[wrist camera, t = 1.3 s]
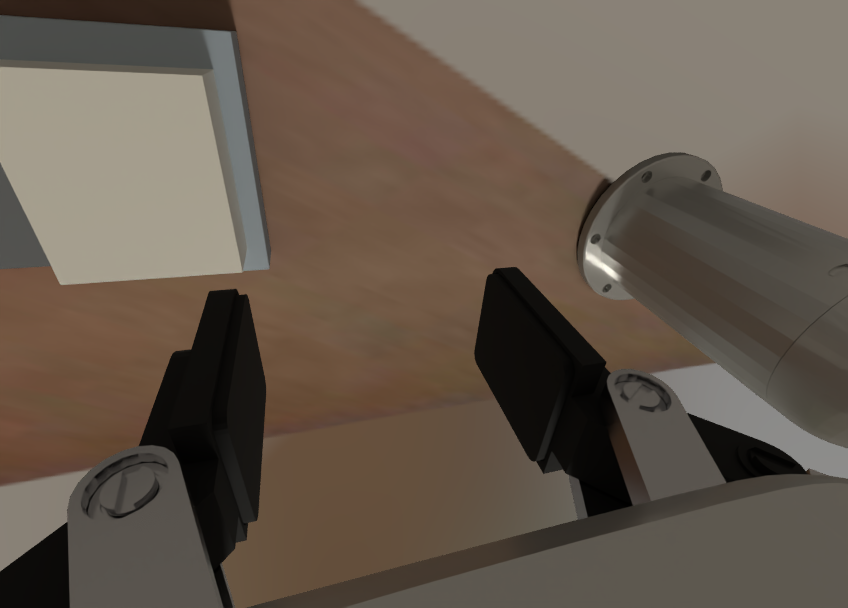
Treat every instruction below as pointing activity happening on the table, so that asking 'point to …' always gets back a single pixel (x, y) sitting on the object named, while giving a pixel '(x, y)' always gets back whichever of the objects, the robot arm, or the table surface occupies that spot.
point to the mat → (17, 232)
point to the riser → (160, 50)
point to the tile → (121, 169)
